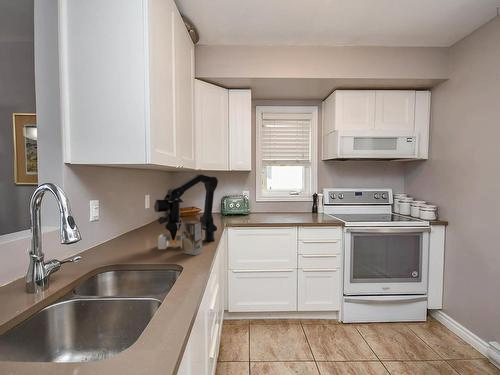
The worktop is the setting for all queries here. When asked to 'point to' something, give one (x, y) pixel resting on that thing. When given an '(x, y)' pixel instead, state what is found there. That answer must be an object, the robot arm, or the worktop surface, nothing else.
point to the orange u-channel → (173, 240)
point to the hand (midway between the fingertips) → (174, 238)
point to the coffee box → (192, 237)
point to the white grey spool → (165, 238)
